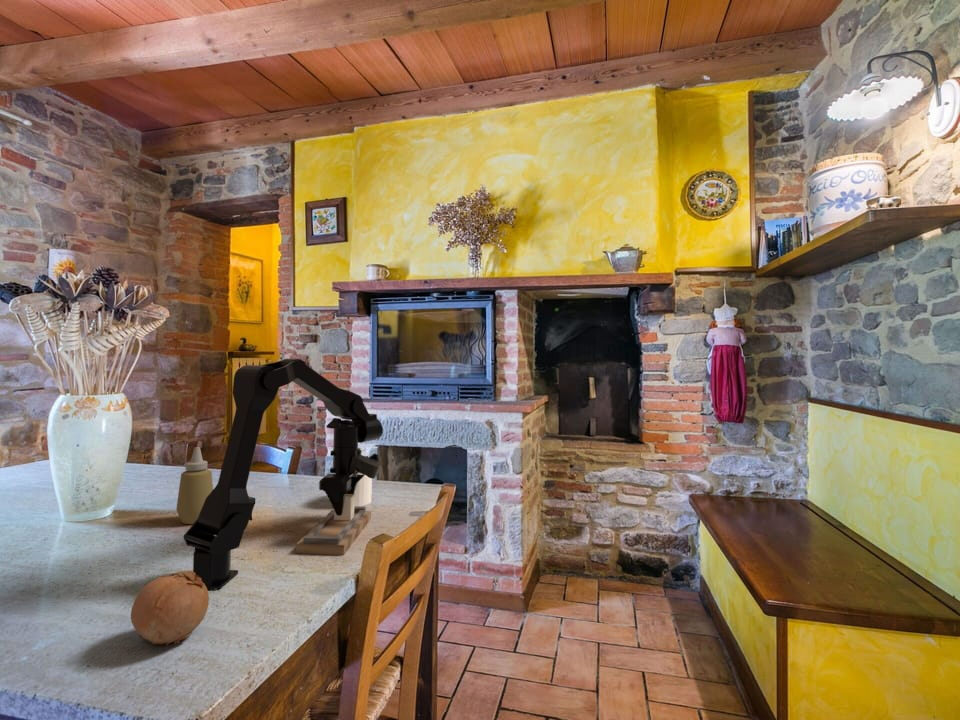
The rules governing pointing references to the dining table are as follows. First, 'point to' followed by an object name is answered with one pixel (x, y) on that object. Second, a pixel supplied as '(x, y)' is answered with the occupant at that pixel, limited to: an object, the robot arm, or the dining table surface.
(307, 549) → the brown wooden tray
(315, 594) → the dining table surface
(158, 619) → the onion
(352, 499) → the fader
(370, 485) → the mug
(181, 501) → the squeeze bottle
